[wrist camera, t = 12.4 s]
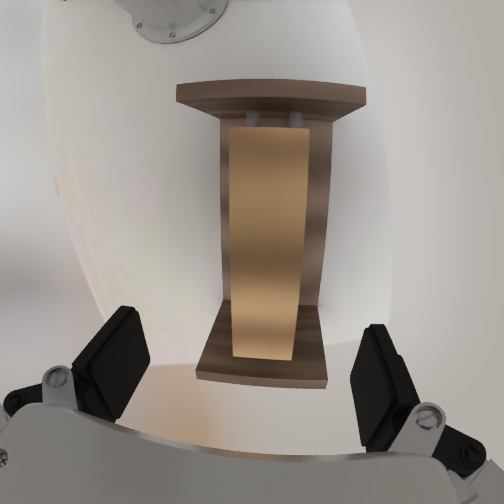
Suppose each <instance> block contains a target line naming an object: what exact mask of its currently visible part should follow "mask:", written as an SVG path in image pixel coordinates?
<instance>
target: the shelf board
mask: <svg viewBox="0 0 504 504" xmlns="http://www.w3.org/2000/svg"><path fill="white" fill-rule="evenodd" d="M308 162H309V129H301V128H279V127H229V225H230V279H231V314H232V343H233V356H236V357H247V358H259V359H274V360H292V352H293V344H294V337H295V328H296V320H297V311H298V302H299V292H300V282H301V271H302V260H303V248H304V234H305V220H306V204H307V185H308Z"/></svg>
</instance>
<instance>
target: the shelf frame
mask: <svg viewBox="0 0 504 504" xmlns="http://www.w3.org/2000/svg"><path fill="white" fill-rule="evenodd" d="M176 101H177V102H179V103H182V104H185V105H187V106H190V107H192V108H195V109H198V110H200V111H203V112H205V113H207V114H210V115H212V116H215V117H217V118H219V119H220V200H221V248H222V280H223V302H222V304H221V307H220V309H219V312H218V314H217V317H216V319H215V322H214V324H213V327H212V329H211V332H210V335H209V337H208V340H207V342H206V345H205V347H204V350H203V352H202V355H201V357H200V360H199V363H198V365H197V368H196V376H197V379H202V380H208V381H216V382H223V383H232V384H241V385H251V386H264V387H279V388H304V389H326V385H327V382H328V377H327V369H326V362H325V354H324V347H323V340H322V333H321V327H320V320H319V314H318V308H317V303H318V296H319V288H320V281H321V273H322V265H323V256H324V247H325V237H326V227H327V216H328V204H329V190H330V173H331V153H332V122H334V121H336V120H338V119H340V118H341V117H343V116H345V115H347V114H349V113H351V112H353V111H355V110H357V109H359V108H361V107H363V106H365V105H366V87H360V86H353V85H346V84H338V83H329V82H319V81H306V80H288V79H235V80H217V81H204V82H194V83H185V84H177V87H176ZM229 127H279V128H301V129H309V162H308V185H307V204H306V220H305V234H304V248H303V260H302V271H301V282H300V292H299V302H298V311H297V320H296V328H295V337H294V344H293V352H292V360H274V359H259V358H247V357H236V356H233V343H232V314H231V279H230V225H229Z"/></svg>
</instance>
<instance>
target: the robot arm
mask: <svg viewBox="0 0 504 504" xmlns="http://www.w3.org/2000/svg"><path fill="white" fill-rule="evenodd" d="M111 1H113V2H114V3H116V4H117V5H119V6H120V7H122V8H123V9H125V10H126V11H128V12H129V13H131V14H132V22H133V26H134V28H135V30H136V31H137V32H138V33H139V34H140V35H141V36H142V37H144V38H145V39H147V40H149V41H152V42H156V43H174V42H179V41H183V40H186V39H189V38H191V37H194V36H196V35H198V34H199V33H201V32H203V31H205V30H206V29H207V28H208V27H210V26H211V25H212V24H213V23H214V22H215V21H216V20H217V19H218V18H219V17H220V16H221V14H222V13H223V11H224V9H225V7H226V5H227V1H228V0H111ZM214 13H215V14H214ZM174 36H175V37H174ZM149 364H150V355H149V351H148V348H147V344H146V340H145V336H144V332H143V328H142V324H141V320H140V316H139V312H138V311H136V309H135V308H134V307H129V306H120V307H119V308H118V310H117V311H116V312H115V313H114V314H113V315H112V316H111V318H110V319H109V320H108V321H107V322H106V323H105V324H104V326H103V327H102V328H101V329H100V330H99V331H98V333H97V334H96V335H95V336H94V337H93V339H92V340H91V341H90V342H89V343H88V345H87V346H86V347H85V348H84V349H83V351H82V352H81V353H80V355H78V357H77V358H76V359H75V361H74V362H73V363H72V366H73V367H72V368H71V369H69V368H68V367H66V366H61V365H60V366H55V367H52V368H50V369H49V370H48V371H46V373H45V374H44V376H43V379H42V383H41V384H37V385H33V386H29V387H26V388H22V389H18V390H14V391H12V392H10V393H9V394H8V395H7V396H6V397H5V400H4V403H3V406H2V405H1V404H0V504H504V471H503V470H502V469H501V468H499V466H498V465H497V464H495V462H493V461H492V460H491V459H490V460H489V461H487V460H486V450H485V447H484V446H483V444H482V443H480V442H479V441H478V440H476V439H474V438H471V437H469V436H467V435H465V434H463V433H461V432H459V431H457V430H455V429H454V428H451V427H449V426H448V425H446V424H445V423H446V416H445V413H444V411H443V410H442V409H441V408H440V407H439V406H437V405H436V404H433V403H429V402H428V403H427V402H424V403H421V402H420V400H419V397H418V395H417V392H416V389H415V387H414V384H413V382H412V379H411V377H410V374H409V372H408V370H407V367H406V365H405V362H404V360H403V358H402V356H401V355H398V354H397V352H396V349H395V347H394V345H393V342H392V340H391V338H390V336H389V333H388V331H387V329H386V327H385V325H384V324H371V325H370V326H369V328H365V330H364V333H363V337H362V340H361V343H360V347H359V350H358V353H357V357H356V359H355V363H354V366H353V369H352V371H351V375H350V384H351V389H352V394H353V399H354V404H355V410H356V415H357V421H358V427H359V434H360V440H361V445H362V446H365V447H366V453H356V454H340V455H275V454H260V453H248V452H239V451H230V450H223V449H216V448H210V447H204V446H198V445H193V444H188V443H183V442H179V441H174V440H170V439H166V438H162V437H158V436H154V435H150V434H147V433H143V432H140V431H136V430H133V429H130V428H127V427H124V426H121V425H118V424H115V421H116V419H119V418H120V417H121V415H122V413H123V412H124V410H125V408H126V406H127V404H128V402H129V400H130V398H131V396H132V395H133V393H134V391H135V389H136V387H137V385H138V384H139V382H140V380H141V378H142V377H143V375H144V373H145V371H146V369H147V367H148V366H149Z"/></svg>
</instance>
